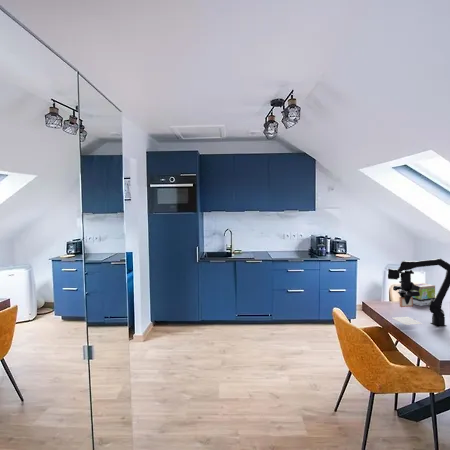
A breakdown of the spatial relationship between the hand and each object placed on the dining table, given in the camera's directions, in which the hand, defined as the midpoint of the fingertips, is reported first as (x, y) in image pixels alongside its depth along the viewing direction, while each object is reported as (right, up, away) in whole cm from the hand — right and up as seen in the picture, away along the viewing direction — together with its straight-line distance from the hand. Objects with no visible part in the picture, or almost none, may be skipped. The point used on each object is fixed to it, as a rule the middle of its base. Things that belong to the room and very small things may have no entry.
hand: (406, 303), depth 206 cm
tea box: (+35, -10, +39) cm, 53 cm away
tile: (0, -2, 0) cm, 2 cm away
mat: (0, -11, 0) cm, 11 cm away
